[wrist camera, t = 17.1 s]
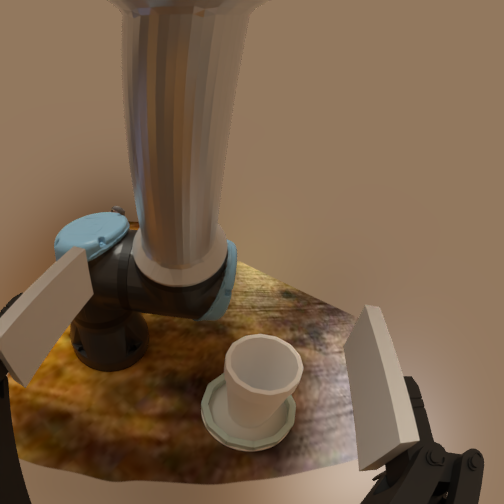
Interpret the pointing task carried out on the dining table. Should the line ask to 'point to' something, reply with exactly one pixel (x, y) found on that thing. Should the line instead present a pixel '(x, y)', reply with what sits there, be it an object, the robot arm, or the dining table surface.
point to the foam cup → (259, 377)
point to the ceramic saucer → (234, 434)
